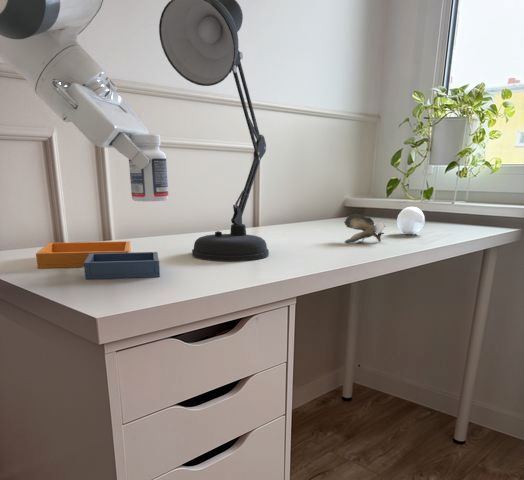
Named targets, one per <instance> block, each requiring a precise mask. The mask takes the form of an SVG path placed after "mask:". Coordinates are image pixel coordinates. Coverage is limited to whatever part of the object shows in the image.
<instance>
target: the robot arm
mask: <svg viewBox="0 0 524 480" xmlns="http://www.w3.org/2000/svg"><path fill="white" fill-rule="evenodd" d="M103 3H104V0H0V60H1V61H2V62H3V63H4V64H5V65H6V66H7V67H8V68H9V69H10V70H12V71H13V72H14V73H16V74H17V75H19V76H20V77H22V78H23V79H25V81H27V83H28V84H29V85H30V87H31V89H32V90H33V92H34V93H35V95H37V97H39V99H41V100H42V101H43V102H44V103H45V104H46V105H47V106H48V107H49V108H50V109H51V110H52V111H53V112H54V113H55V114H56V115H57V116H58V117H59V118H60V119H61V120H62V121H63V122H65V123H72V124H73V125H74V126H75V127H76V128H77V129H78V131H79V132H81V134H82V135H83V136H84V137H86V139H87V140H88V141H89V142H90V143H92V144H93V145H94V146H96V147H98V148H107V149H109V148H110V149H115V150H116V151H118V153H120V154H121V155H122V156H123V157H125V158H127V159H128V161H129V160H131V161H132V162H133V163H134V164H135V165H136V166H137V167H138V168H139V169H145V168H146V167H147V166H148V165H149V164H150V162H151V160H150V158H149V157H148V156H147V155H146V154H145V153H144V152H143V151H141V150H140V149H139V148H138V147H137V146H136V145H135V144H134V143H133V142H132V141H131V135H132V134H150V132H149V130H148V129H147V127H146V125H145V124H144V123H143V121H142V120H141V119H140V118H139V117H138V116H137V114H136V113H135V112H134V111H133V109H132V108H131V107H130V106H129V105H128V103H126V101H125V100H124V99H123V98H122V96H120V95H119V93H118V92H117V91H118V87H117V86H116V85H115V83H113V81H112V80H111V79H110V78H109V75H108V73H107V72H106V71H105V70H104V69H103V67H101V65H100V64H99V63H98V62H97V61H96V60H95V59H94V58H93V57H92V56H91V55H90V54H89V53H88V52H87V51H86V50H85V49H84V47H82V45H80V43H79V42H78V40H77V37H78V36H79V35H80V34H81V33H83V31H84V30H85V29H86V28H87V27H88V26H89V25H90V23H92V21H93V20H94V18H95V17H96V16H97V15H98V13H99V12H100V10H101V8H102V6H103Z"/></svg>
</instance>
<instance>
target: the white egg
mask: <svg viewBox="0 0 524 480" xmlns="http://www.w3.org/2000/svg"><path fill="white" fill-rule="evenodd" d="M425 218H426V217H425V214H424V212H423V211H422V210H421V209H420V208H418V207H416V206H407V207H405V208H403V209H402V210H400V212H399V214H398V215H397V218H396V225H397V227H398V229H399V230H400V231H401V232H402V233H403V234H406V235H415V234H417V233H418V232H420V231H421V230H422V229H423V227H424V225H425V222H426V219H425Z"/></svg>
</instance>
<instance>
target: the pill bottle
mask: <svg viewBox="0 0 524 480" xmlns="http://www.w3.org/2000/svg"><path fill="white" fill-rule="evenodd" d="M131 141H132V142H133V143H134V144H135V145H136V146H137V147H138V148H139V149H140V150H141V151H143V152H144V153H145V154H146V155H147V156H148V157H149V158H150V160H151V162H150V164H149V165H148V166H147V167H146V168H145V169H139V168H138V167H137V166H136V165H135V164H134V163H133V162H132V161H131V160H129V159H128V166H129V168H128V169H129V180H130V181H129V182H130V191H131V199H132V200H133V201H135V202H164V201H168V200H169V182H168V167H167V155H166V153H165V152H164V151H162V150H161V149H160V146H161V143H162V142H161V135H160V134H152V133H149V134H132V135H131Z"/></svg>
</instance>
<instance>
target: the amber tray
mask: <svg viewBox="0 0 524 480" xmlns="http://www.w3.org/2000/svg"><path fill="white" fill-rule="evenodd" d="M91 253H132V247H131V241H130V240H129V241H128V240H125V241H120V240H119V241H118V240H117V241H77V242H76V241H75V242H74V241H73V242H71V241H70V242H66V241H65V242H48V243H47V244H45V245H44V246H43V247H41V248H40V249H39V250H38V251H37V252H36V253H35V258H36V266H37V269H64V268H67V269H68V268H84V262H85V260H86V259H87V257H88V255H89V254H91Z"/></svg>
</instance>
